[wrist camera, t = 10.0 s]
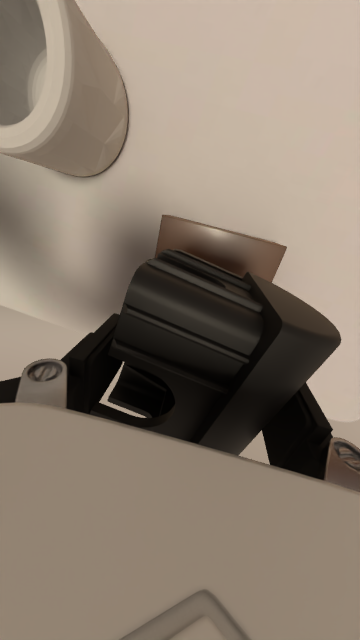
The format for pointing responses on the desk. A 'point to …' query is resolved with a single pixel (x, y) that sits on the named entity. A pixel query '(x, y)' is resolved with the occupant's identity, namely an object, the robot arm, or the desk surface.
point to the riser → (221, 247)
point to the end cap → (211, 351)
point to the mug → (58, 89)
